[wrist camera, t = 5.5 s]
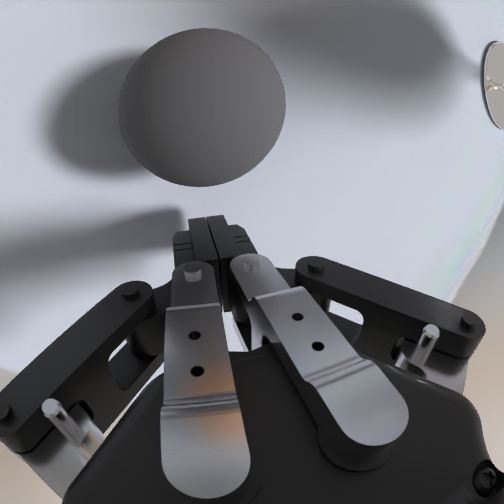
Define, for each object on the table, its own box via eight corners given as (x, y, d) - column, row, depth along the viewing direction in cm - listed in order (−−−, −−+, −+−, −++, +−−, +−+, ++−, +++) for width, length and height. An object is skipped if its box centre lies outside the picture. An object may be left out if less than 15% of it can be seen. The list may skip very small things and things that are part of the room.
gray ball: (126, 232, 9) (134, 147, 12) (295, 212, 10) (253, 136, 14) (93, 54, 5) (124, 29, 8) (330, 48, 6) (265, 23, 9)
